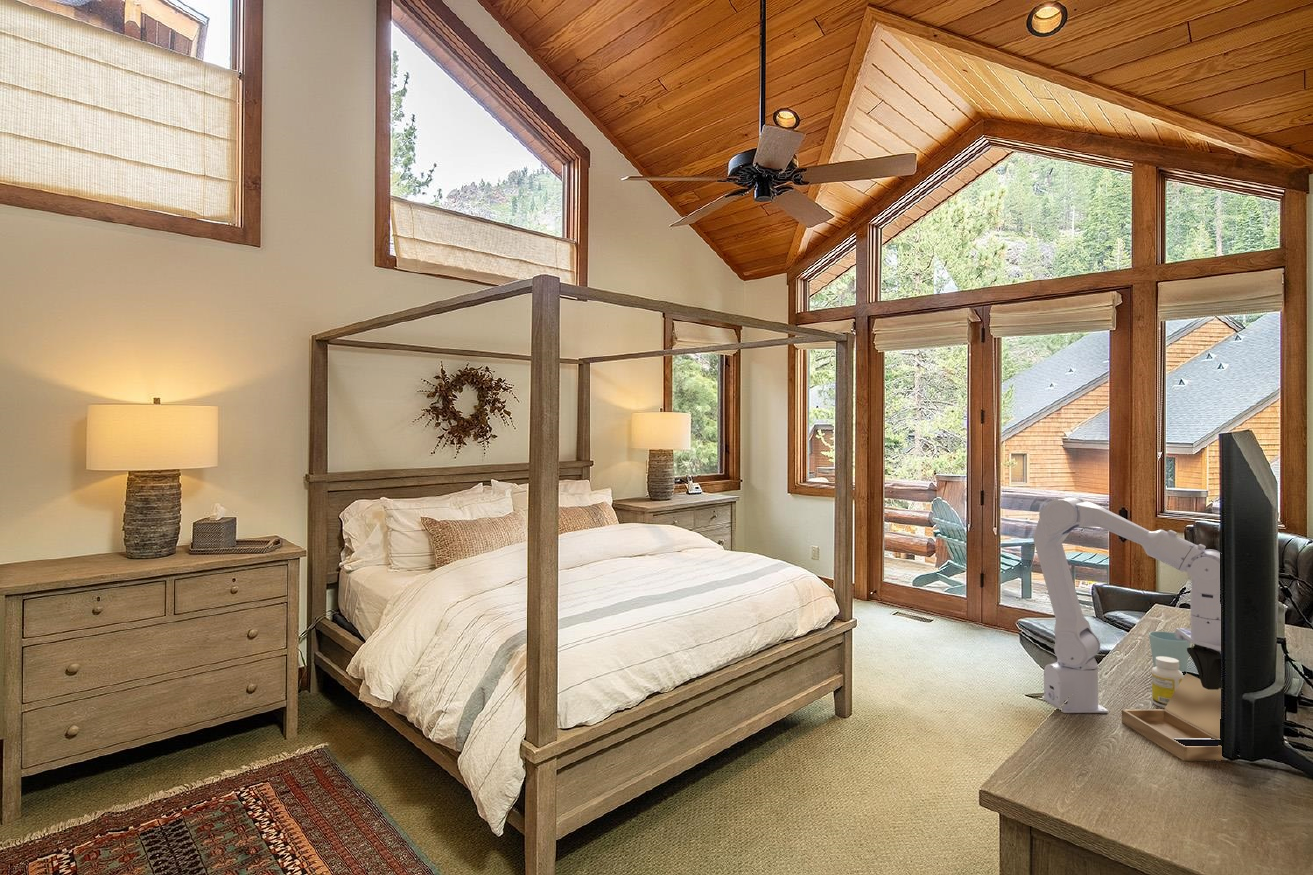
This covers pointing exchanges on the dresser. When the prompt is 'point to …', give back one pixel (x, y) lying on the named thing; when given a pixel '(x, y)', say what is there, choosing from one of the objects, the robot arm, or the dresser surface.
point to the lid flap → (1197, 705)
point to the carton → (1171, 733)
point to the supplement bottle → (1165, 680)
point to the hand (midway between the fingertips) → (1210, 688)
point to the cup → (1169, 648)
